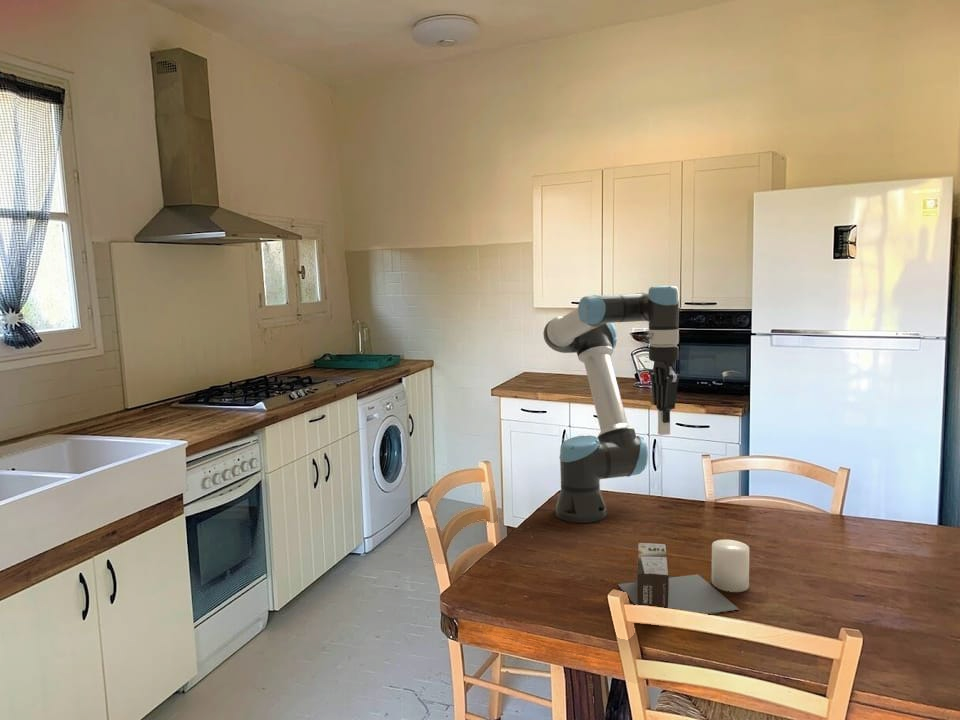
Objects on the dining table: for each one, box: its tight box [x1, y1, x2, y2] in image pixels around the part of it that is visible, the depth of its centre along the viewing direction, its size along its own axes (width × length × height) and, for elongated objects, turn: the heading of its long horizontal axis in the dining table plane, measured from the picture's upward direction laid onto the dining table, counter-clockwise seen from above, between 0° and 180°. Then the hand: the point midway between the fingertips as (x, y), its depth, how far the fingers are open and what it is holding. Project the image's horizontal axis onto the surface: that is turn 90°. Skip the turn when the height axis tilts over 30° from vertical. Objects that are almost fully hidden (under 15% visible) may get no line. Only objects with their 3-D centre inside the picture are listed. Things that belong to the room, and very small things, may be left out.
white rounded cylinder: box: [711, 539, 750, 593], centre depth 149 cm, size 8×8×9 cm
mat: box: [617, 573, 739, 615], centre depth 144 cm, size 17×20×1 cm
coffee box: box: [636, 542, 670, 608], centre depth 144 cm, size 9×6×16 cm
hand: (664, 433), depth 172 cm, fingers closed
